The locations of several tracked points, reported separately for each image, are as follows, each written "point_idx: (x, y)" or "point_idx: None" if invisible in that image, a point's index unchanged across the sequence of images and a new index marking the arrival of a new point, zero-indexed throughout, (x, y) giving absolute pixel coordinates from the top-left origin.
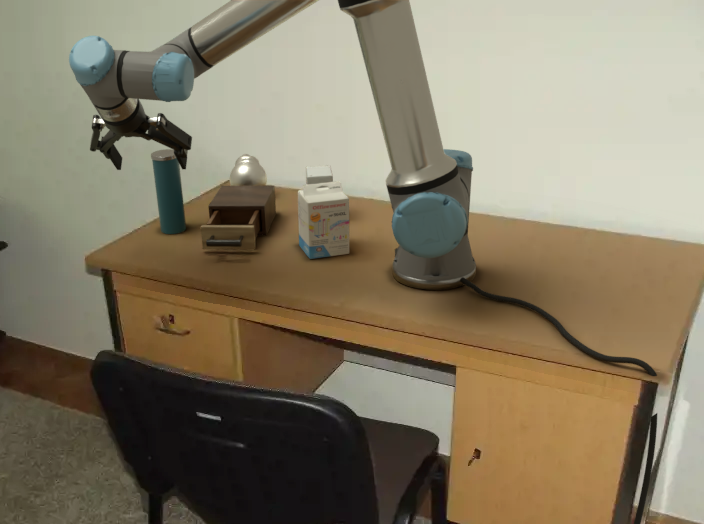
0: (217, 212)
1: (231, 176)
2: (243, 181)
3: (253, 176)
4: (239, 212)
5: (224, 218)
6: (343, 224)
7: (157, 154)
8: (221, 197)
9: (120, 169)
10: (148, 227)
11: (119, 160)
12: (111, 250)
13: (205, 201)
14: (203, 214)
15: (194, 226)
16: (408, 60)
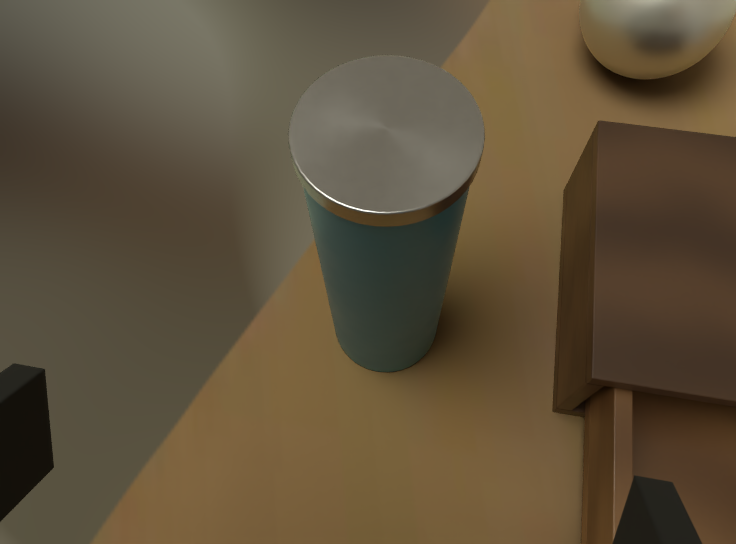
0: (632, 413)
1: (604, 5)
2: (658, 44)
3: (706, 26)
4: None
5: None
6: None
7: (335, 147)
8: (633, 268)
9: (47, 473)
10: (283, 284)
11: (7, 456)
12: (135, 525)
13: (474, 69)
14: (484, 185)
15: (466, 300)
16: None
